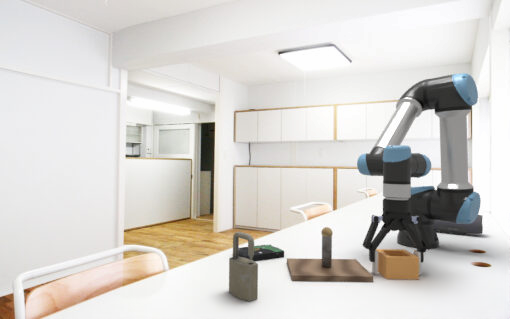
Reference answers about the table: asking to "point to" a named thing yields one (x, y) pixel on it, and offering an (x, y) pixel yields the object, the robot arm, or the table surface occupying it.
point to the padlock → (243, 270)
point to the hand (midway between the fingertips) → (396, 273)
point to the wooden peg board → (328, 266)
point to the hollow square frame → (397, 264)
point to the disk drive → (262, 252)
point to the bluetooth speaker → (460, 227)
